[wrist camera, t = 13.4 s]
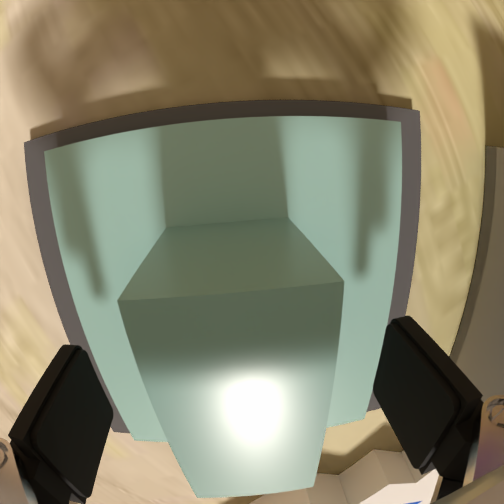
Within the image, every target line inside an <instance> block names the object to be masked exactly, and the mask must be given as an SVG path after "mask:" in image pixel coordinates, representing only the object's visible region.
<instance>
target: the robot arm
mask: <svg viewBox="0 0 504 504" xmlns="http://www.w3.org/2000/svg"><path fill="white" fill-rule="evenodd" d="M373 393H374V396H375V397H376V399H377V401H378V403H379V405H380V407H381V408H382V410H383V412H384V414H385V416H386V417H387V419H388V421H389V423H390V425H391V427H392V429H393V430H394V432H395V434H396V436H397V438H398V440H399V442H400V444H401V445H402V447H403V449H404V451H405V453H406V455H407V457H408V459H409V461H410V463H411V465H412V466H413V468H415V469H419V471H420V473H421V475H423V474H425V473H428V472H430V471H432V470H434V469H436V470H437V472H438V474H439V476H438V480H437V483H436V486H435V490H434V493H433V496H432V499H431V502H430V504H504V395H494V396H491V397H489V398H488V399H486V401H485V402H483V401H482V400H481V398H482V396H483V395H482V394H481V392H480V391H479V390H478V389H477V388H476V387H475V385H474V384H473V383H472V382H471V381H470V380H469V379H468V377H467V376H466V375H465V374H464V373H463V372H462V371H461V370H460V368H459V367H458V366H457V365H456V364H455V363H454V362H453V361H452V360H451V358H450V357H449V356H448V355H447V354H446V353H445V352H444V351H443V350H442V349H441V348H440V347H439V346H438V344H437V343H436V342H435V341H434V340H433V339H432V338H431V337H430V336H429V335H428V334H427V333H426V332H425V331H424V330H423V329H422V328H421V327H420V326H419V325H418V323H417V322H416V321H415V320H414V319H413V318H412V317H410V316H404V317H399V318H394V319H392V320H391V322H390V324H388V325H387V326H386V330H385V335H384V340H383V345H382V349H381V354H380V358H379V363H378V367H377V371H376V375H375V379H374V383H373ZM112 420H113V408H112V406H111V404H110V402H109V400H108V398H107V396H106V394H105V392H104V390H103V388H102V385H101V383H100V381H99V379H98V377H97V374H96V372H95V370H94V368H93V365H92V363H91V360H90V358H89V356H88V353H87V352H86V351H85V350H83V349H82V347H81V346H79V345H63V346H62V347H61V348H60V350H59V351H58V352H57V354H56V356H55V357H54V359H53V360H52V362H51V363H50V365H49V366H48V368H47V369H46V371H45V372H44V374H43V376H42V377H41V379H40V380H39V382H38V384H37V385H36V387H35V389H34V390H33V392H32V393H31V395H30V397H29V399H28V400H27V402H26V404H25V405H24V407H23V409H22V411H21V412H20V414H19V416H18V418H17V419H16V421H15V423H14V425H13V427H12V429H11V431H10V432H9V434H8V436H9V437H10V438H11V442H10V444H9V443H8V442H7V440H5V439H3V438H0V504H69V500H70V501H73V502H77V503H81V504H85V503H86V499H87V498H89V497H90V496H91V494H92V490H93V486H94V482H95V478H96V475H97V471H98V467H99V464H100V460H101V457H102V453H103V450H104V446H105V443H106V439H107V436H108V433H109V429H110V426H111V423H112Z"/></svg>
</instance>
